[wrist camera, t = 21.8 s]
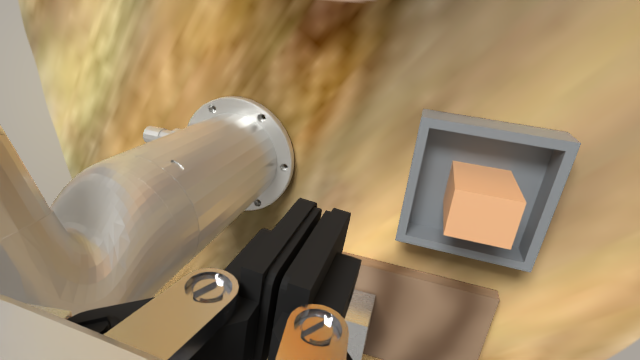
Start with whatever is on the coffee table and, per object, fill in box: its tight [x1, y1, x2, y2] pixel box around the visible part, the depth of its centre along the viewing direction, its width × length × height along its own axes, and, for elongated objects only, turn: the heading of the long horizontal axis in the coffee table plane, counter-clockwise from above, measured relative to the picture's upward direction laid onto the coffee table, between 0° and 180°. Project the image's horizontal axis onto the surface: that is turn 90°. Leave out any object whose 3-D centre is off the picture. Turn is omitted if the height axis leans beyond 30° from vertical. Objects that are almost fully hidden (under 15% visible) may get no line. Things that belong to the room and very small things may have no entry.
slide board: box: [342, 252, 499, 360], centre depth 42 cm, size 23×12×5 cm, turn 83°
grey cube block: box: [345, 289, 376, 360], centre depth 42 cm, size 6×6×5 cm
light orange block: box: [443, 161, 526, 250], centre depth 33 cm, size 5×4×7 cm
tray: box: [395, 109, 581, 272], centre depth 35 cm, size 12×12×4 cm
